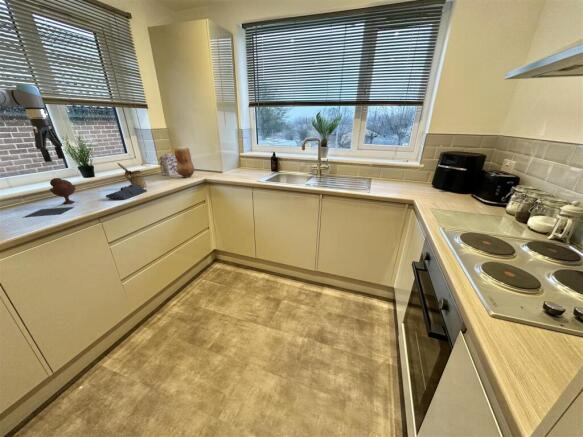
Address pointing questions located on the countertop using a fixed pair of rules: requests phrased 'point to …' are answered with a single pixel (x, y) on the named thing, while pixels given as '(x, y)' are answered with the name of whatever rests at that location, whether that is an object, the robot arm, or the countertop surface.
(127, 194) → the dark slate chunk
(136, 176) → the tan handled pot
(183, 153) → the butternut squash
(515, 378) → the countertop surface
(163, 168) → the decorative jar
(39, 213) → the placemat
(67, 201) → the ice cream bowl
